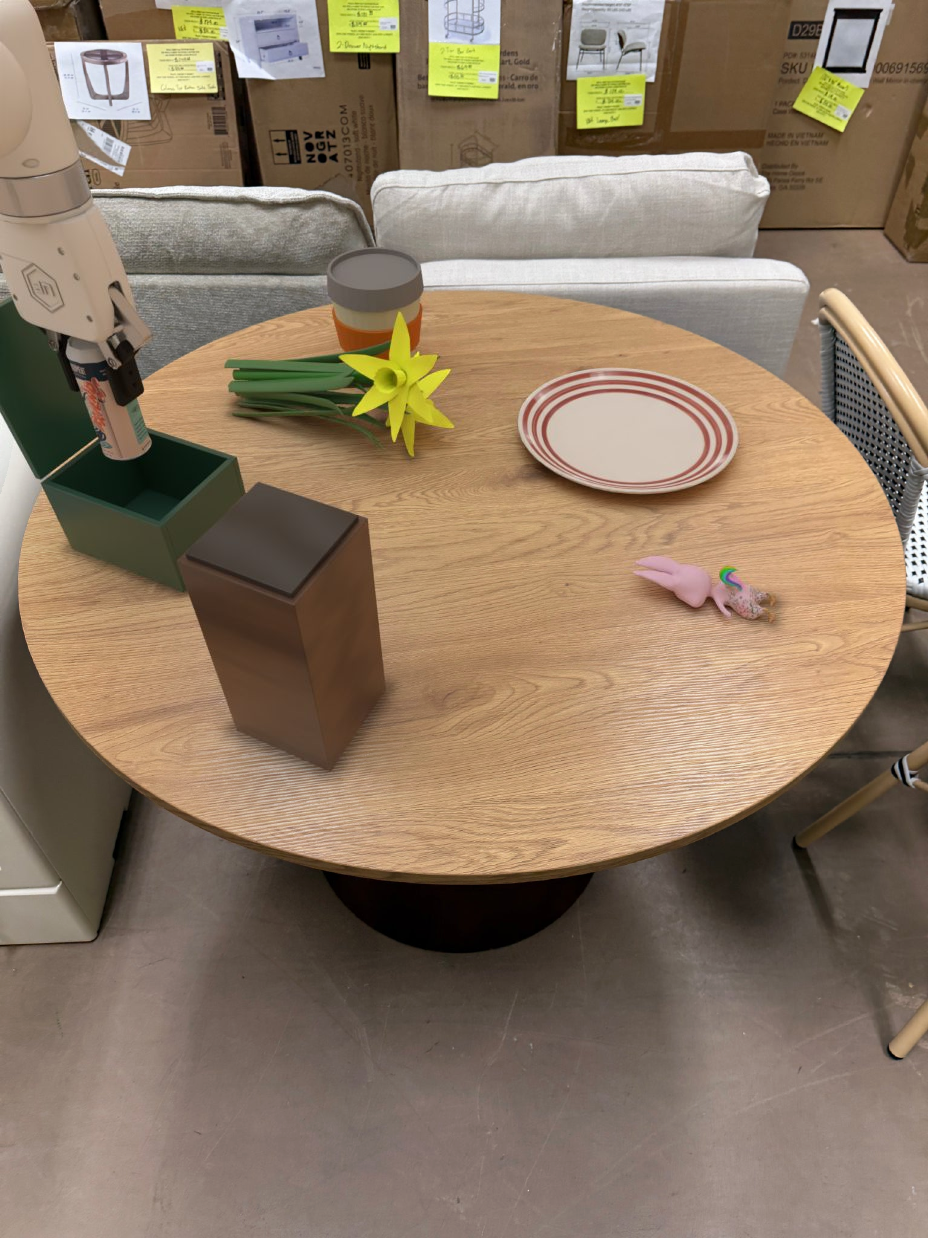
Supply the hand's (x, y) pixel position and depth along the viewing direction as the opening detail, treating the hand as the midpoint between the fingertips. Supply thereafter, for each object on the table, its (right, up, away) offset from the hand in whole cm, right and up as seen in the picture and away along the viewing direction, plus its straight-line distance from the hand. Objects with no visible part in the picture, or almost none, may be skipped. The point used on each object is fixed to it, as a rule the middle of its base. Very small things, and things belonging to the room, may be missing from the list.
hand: (107, 389), depth 77 cm
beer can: (0, -5, +5) cm, 7 cm away
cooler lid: (-7, +2, +3) cm, 8 cm away
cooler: (0, -13, +15) cm, 19 cm away
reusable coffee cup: (+22, +13, +38) cm, 46 cm away
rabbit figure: (+59, -20, +9) cm, 63 cm away
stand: (+20, -30, -1) cm, 36 cm away
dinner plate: (+54, +1, +27) cm, 61 cm away
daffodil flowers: (+17, +2, +28) cm, 33 cm away
